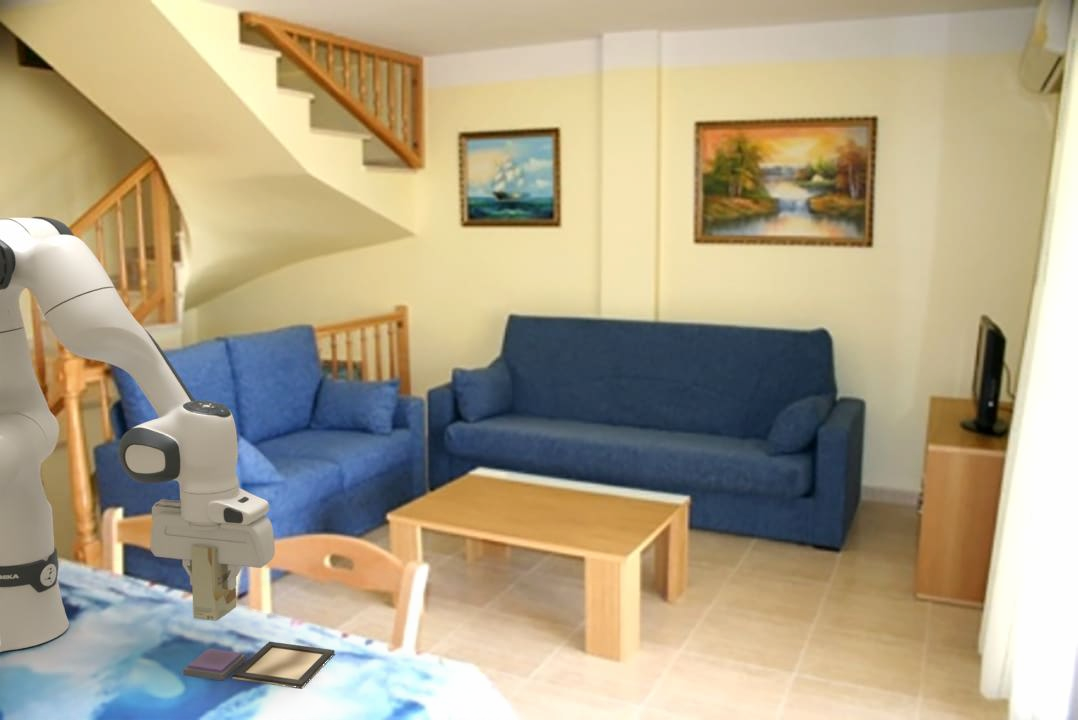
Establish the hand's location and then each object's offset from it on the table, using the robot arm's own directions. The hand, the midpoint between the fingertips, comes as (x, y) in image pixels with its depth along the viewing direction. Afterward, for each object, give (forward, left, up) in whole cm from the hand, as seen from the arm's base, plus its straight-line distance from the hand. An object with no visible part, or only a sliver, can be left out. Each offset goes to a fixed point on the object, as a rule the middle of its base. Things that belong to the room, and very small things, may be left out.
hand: (213, 586), depth 150 cm
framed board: (+10, +3, -14) cm, 18 cm away
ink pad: (0, 0, -14) cm, 14 cm away
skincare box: (0, 0, -5) cm, 5 cm away
